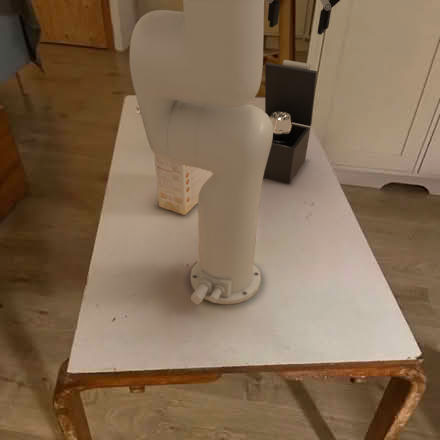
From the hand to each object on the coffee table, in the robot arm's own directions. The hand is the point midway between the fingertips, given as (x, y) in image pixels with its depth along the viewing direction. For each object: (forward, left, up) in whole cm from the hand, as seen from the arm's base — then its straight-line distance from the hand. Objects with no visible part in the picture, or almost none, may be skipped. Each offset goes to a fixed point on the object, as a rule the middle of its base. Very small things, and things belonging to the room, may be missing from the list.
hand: (296, 29), depth 86 cm
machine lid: (+7, +2, -16) cm, 17 cm away
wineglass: (+3, +2, -31) cm, 31 cm away
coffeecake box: (-18, +15, -32) cm, 39 cm away
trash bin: (+3, +2, -31) cm, 32 cm away
